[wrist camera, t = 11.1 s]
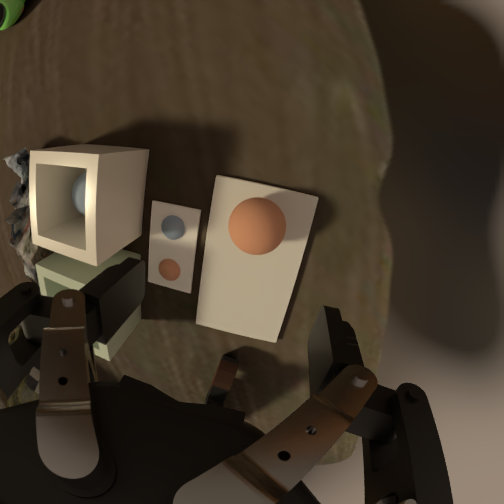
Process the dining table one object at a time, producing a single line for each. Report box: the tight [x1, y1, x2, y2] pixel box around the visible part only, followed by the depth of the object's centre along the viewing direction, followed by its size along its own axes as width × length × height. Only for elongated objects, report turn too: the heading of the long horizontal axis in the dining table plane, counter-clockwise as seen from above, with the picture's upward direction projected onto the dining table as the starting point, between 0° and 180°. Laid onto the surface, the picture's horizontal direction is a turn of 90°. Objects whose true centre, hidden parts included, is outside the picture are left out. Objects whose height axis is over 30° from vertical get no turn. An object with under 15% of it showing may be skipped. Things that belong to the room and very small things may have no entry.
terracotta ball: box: [228, 197, 286, 255], centre depth 22 cm, size 5×5×5 cm
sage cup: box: [36, 249, 141, 361], centre depth 26 cm, size 9×9×8 cm
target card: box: [148, 200, 201, 293], centre depth 27 cm, size 9×5×1 cm, turn 169°
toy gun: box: [205, 355, 239, 407], centre depth 32 cm, size 2×18×12 cm, turn 161°
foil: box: [2, 148, 54, 287], centre depth 25 cm, size 12×11×15 cm
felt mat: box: [196, 175, 318, 343], centre depth 26 cm, size 16×9×1 cm, turn 169°
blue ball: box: [72, 171, 87, 215], centre depth 23 cm, size 5×5×5 cm
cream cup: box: [29, 144, 150, 266], centre depth 22 cm, size 9×9×8 cm
